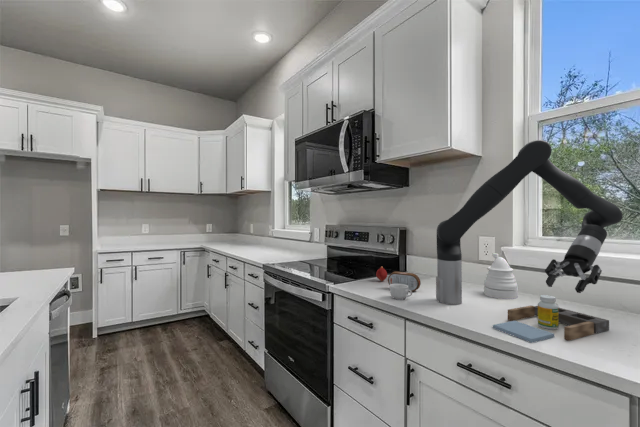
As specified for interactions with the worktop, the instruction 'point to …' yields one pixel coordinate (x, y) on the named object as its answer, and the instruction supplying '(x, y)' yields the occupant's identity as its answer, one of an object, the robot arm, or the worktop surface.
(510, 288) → the honey pot
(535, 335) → the pad
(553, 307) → the supplement bottle
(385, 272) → the onion
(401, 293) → the teacup
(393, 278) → the tin
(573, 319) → the channel
